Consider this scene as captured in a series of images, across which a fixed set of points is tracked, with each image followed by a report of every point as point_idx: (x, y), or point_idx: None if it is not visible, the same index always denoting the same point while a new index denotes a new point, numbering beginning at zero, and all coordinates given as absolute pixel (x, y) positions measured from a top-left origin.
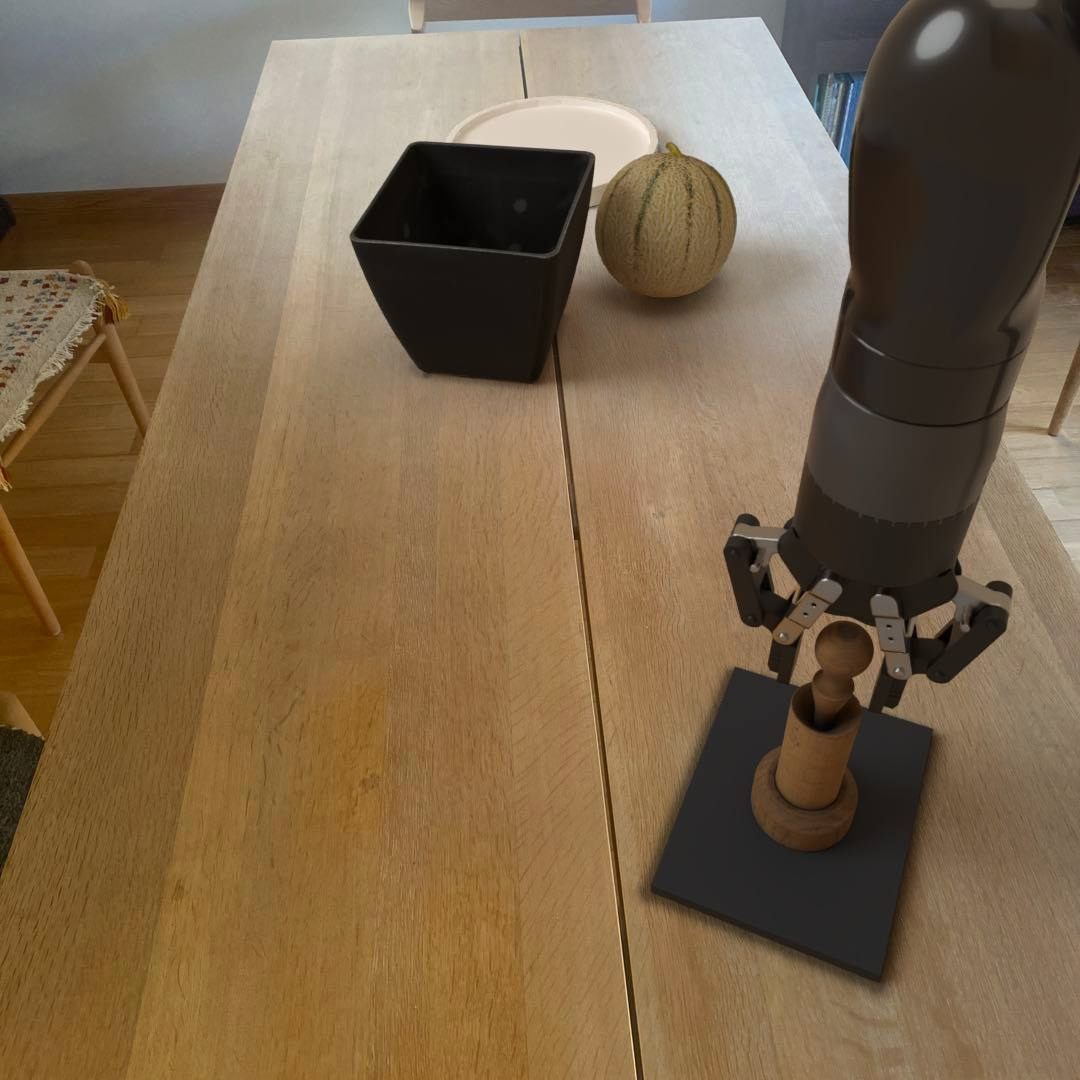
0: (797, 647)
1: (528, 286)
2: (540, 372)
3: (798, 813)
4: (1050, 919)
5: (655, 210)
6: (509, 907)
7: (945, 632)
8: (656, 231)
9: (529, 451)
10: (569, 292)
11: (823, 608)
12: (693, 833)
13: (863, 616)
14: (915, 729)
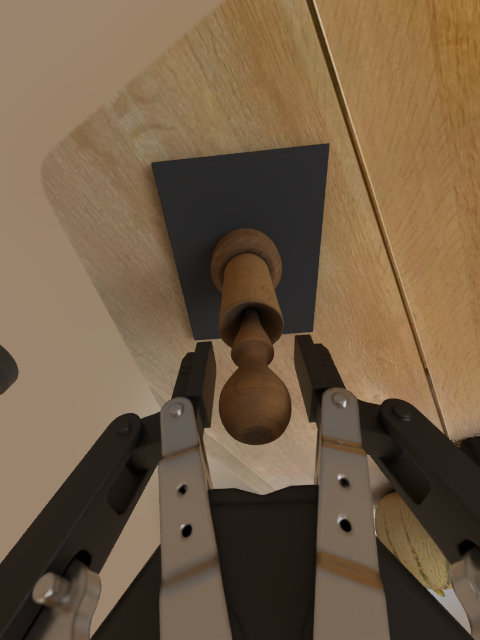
0: (310, 387)
1: None
2: (466, 447)
3: (243, 247)
4: (92, 261)
5: (439, 560)
6: (445, 54)
7: (136, 486)
8: (432, 545)
9: (463, 405)
10: None
11: (323, 524)
12: (308, 205)
13: (242, 514)
14: (202, 336)
